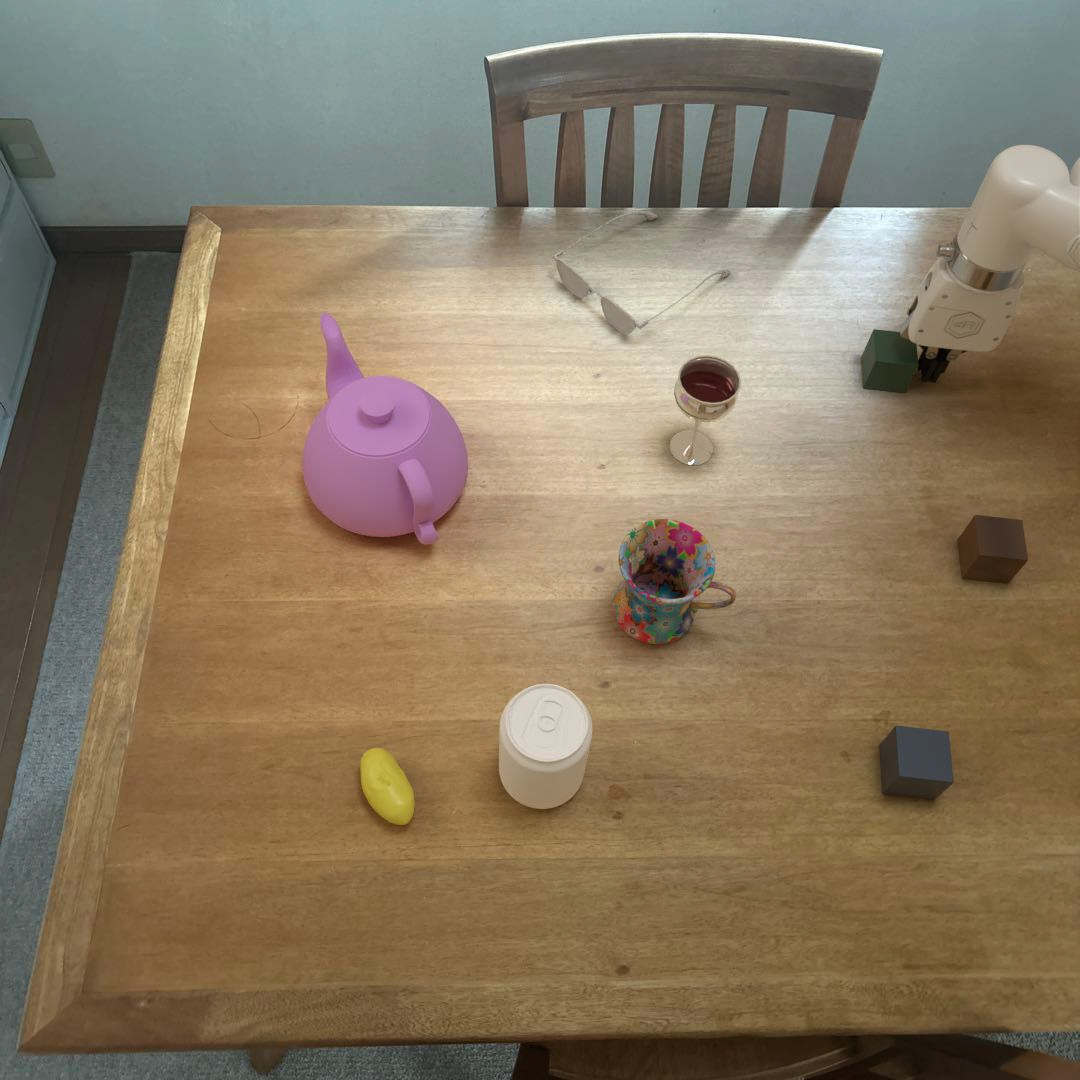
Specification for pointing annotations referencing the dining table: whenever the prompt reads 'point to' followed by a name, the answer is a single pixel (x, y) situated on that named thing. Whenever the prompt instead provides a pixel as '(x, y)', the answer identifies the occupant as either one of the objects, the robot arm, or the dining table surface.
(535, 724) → the beverage can
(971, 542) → the walnut block
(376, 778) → the yellow potato
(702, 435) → the wineglass
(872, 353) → the green block
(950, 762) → the block
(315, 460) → the teapot
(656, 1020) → the dining table surface
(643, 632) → the mug
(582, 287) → the eyeglasses
